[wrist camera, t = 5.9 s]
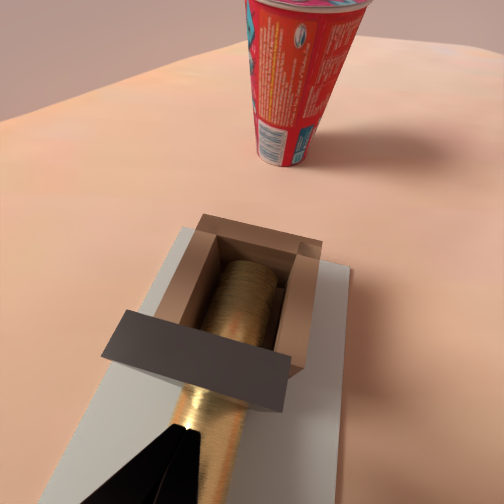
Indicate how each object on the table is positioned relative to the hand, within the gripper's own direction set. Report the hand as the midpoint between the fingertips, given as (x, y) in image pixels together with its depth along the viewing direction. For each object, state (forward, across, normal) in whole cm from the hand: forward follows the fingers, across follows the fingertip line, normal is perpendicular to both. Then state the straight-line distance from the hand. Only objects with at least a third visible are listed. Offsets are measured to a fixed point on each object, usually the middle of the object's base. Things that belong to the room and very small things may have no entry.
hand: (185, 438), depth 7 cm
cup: (+22, +1, -11) cm, 25 cm away
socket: (+9, 0, +1) cm, 9 cm away
